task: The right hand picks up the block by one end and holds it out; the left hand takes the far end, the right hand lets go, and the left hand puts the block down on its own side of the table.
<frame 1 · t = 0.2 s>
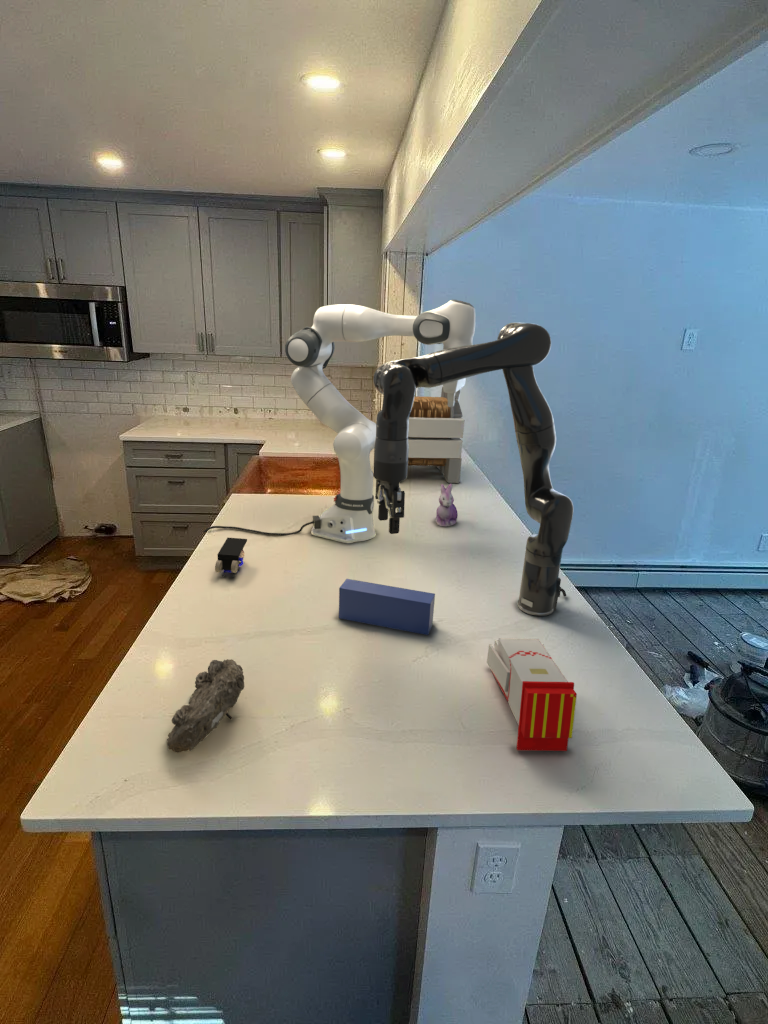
left hand: (453, 404, 174), 48 cm above the counter, tool pointing down, fingers open, 8 cm apart
right hand: (388, 526, 130), 28 cm above the counter, tool pointing down, fingers open, 8 cm apart
figurine: (446, 523, 212), on the counter
figurine character: (232, 569, 168), on the counter
transformer: (419, 473, 275), on the counter
toy: (522, 702, 116), on the counter
fossil: (212, 717, 108), on the counter
block: (385, 621, 144), on the counter
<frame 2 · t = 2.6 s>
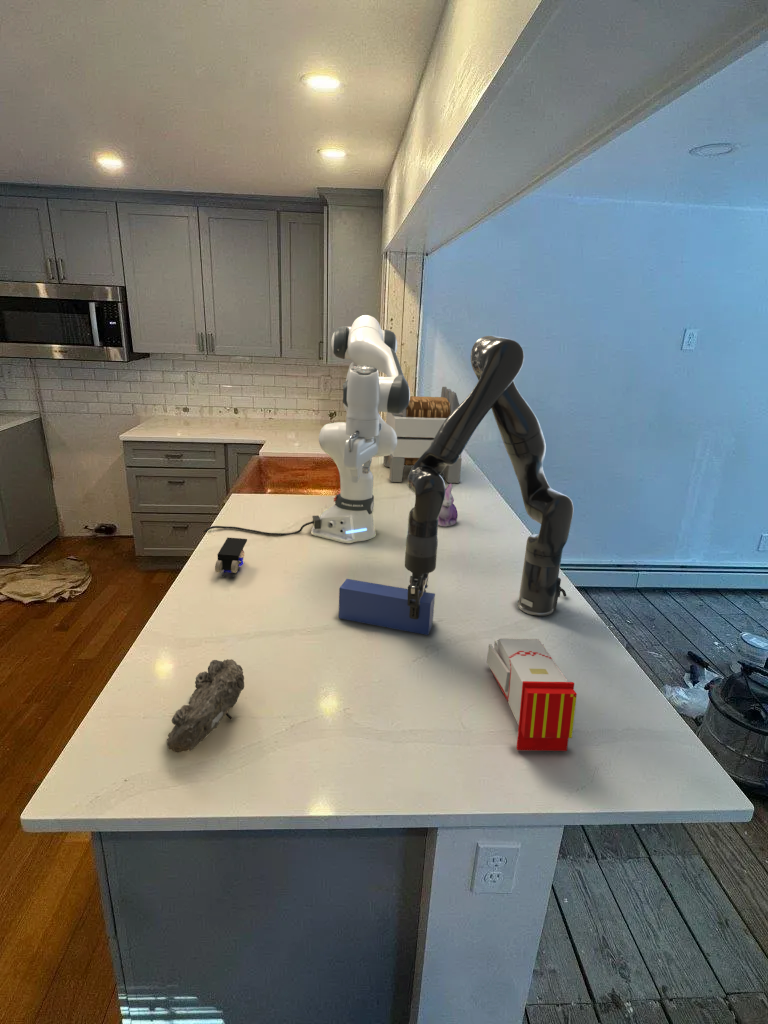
left hand: (360, 477, 157), 30 cm above the counter, tool pointing down, fingers open, 8 cm apart
right hand: (416, 612, 141), 4 cm above the counter, tool pointing down, fingers closed on block, 5 cm apart
block: (385, 621, 144), on the counter, touching right hand
everything else where it was.
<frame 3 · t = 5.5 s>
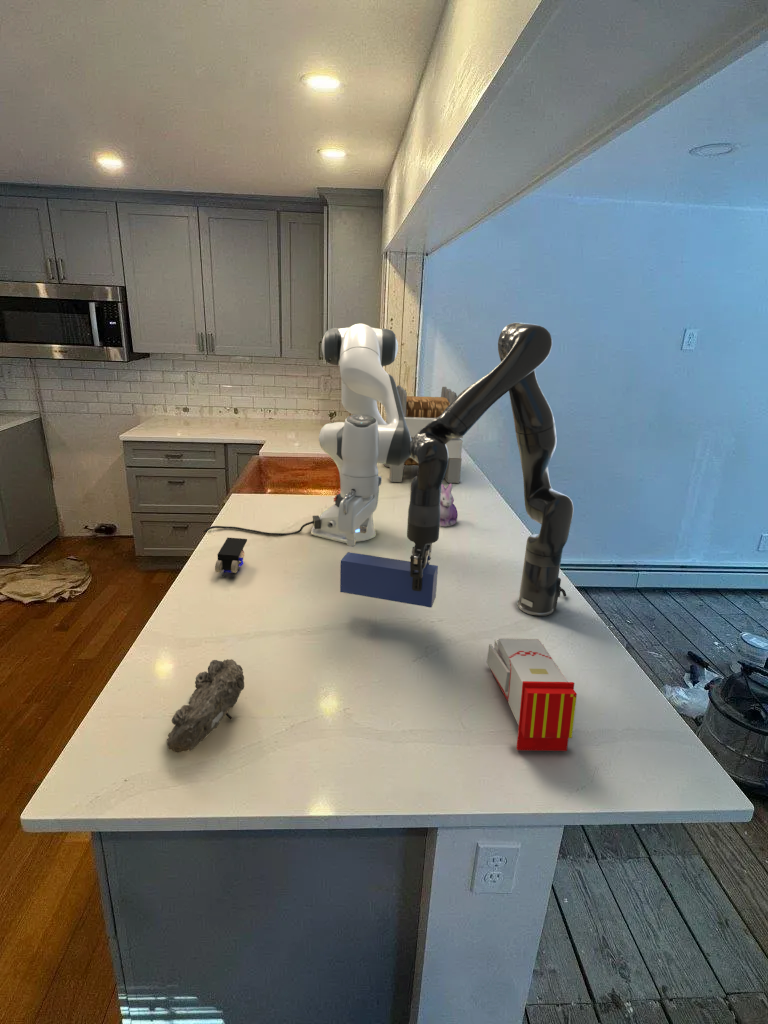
left hand: (357, 538, 139), 21 cm above the counter, tool pointing down, fingers open, 8 cm apart
right hand: (419, 584, 138), 12 cm above the counter, tool pointing down, fingers closed on block, 5 cm apart
block: (387, 594, 141), point 8 cm above the counter, touching right hand
everything else where it was.
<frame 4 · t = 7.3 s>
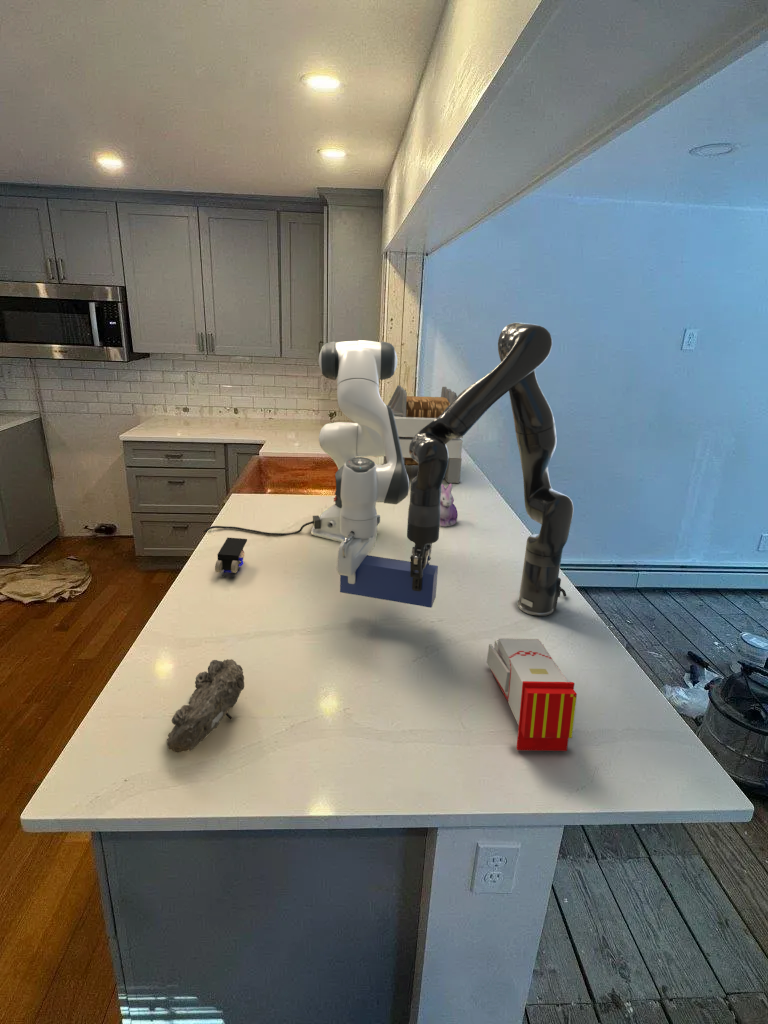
left hand: (356, 576, 142), 11 cm above the counter, tool pointing down, fingers closed on block, 5 cm apart
right hand: (419, 584, 138), 12 cm above the counter, tool pointing down, fingers closed on block, 5 cm apart
block: (387, 594, 141), point 8 cm above the counter, touching left hand, right hand
everything else where it was.
when the right hand's fingers open (12 cm above the counter, at t = 8.5 s): block moves 1 cm, held by the left hand.
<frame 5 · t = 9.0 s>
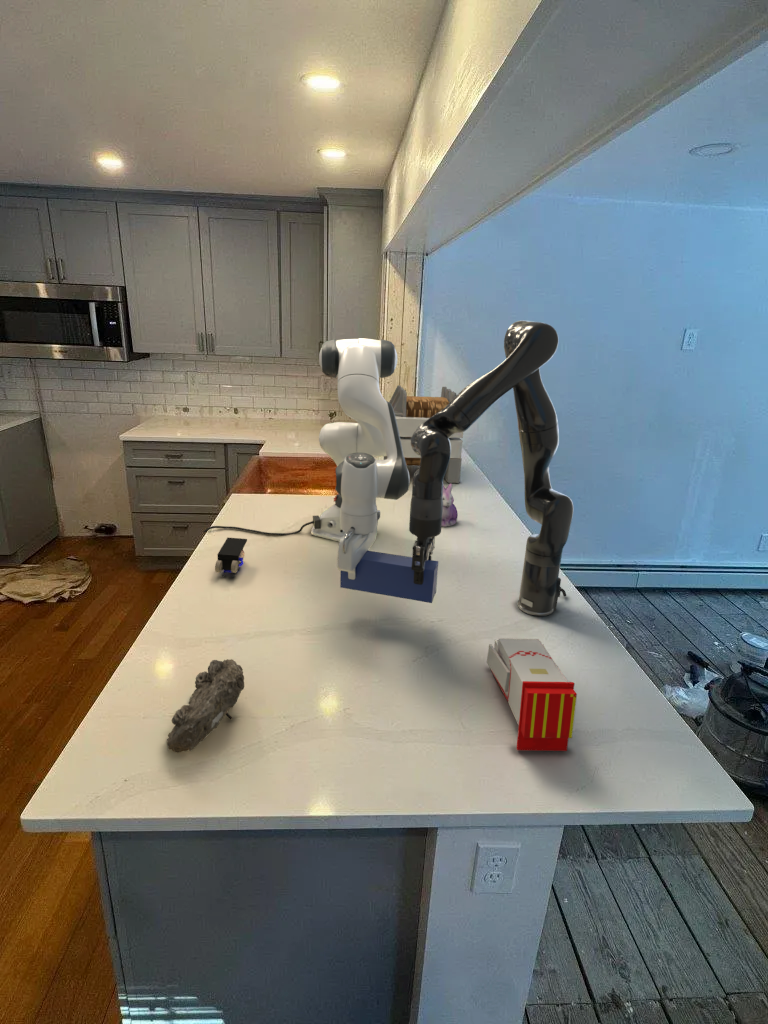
left hand: (356, 572, 142), 12 cm above the counter, tool pointing down, fingers closed on block, 5 cm apart
right hand: (422, 576, 137), 14 cm above the counter, tool pointing down, fingers open, 8 cm apart
block: (388, 590, 141), point 9 cm above the counter, touching left hand
everything else where it was.
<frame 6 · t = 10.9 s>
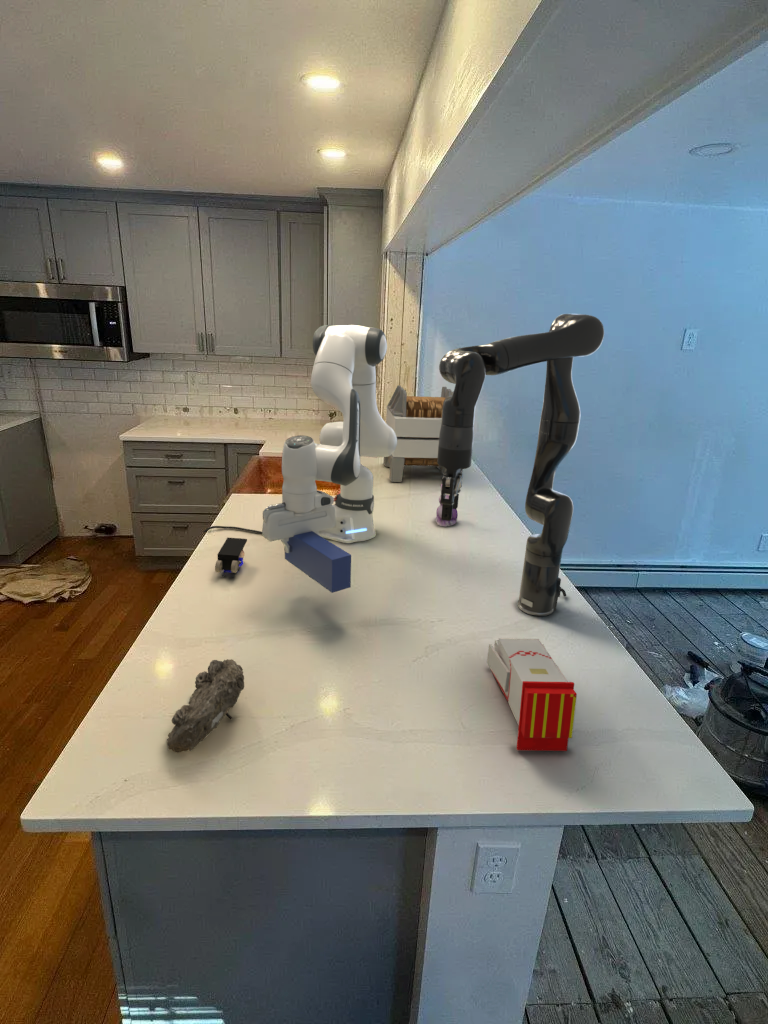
left hand: (300, 549, 151), 13 cm above the counter, tool pointing down, fingers closed on block, 5 cm apart
right hand: (449, 513, 130), 31 cm above the counter, tool pointing down, fingers open, 8 cm apart
block: (316, 572, 146), point 10 cm above the counter, touching left hand
everything else where it was.
when the left hand's fingers open (4 cm above the counter, at t = 12.2 s): block stays where it is, on the counter.
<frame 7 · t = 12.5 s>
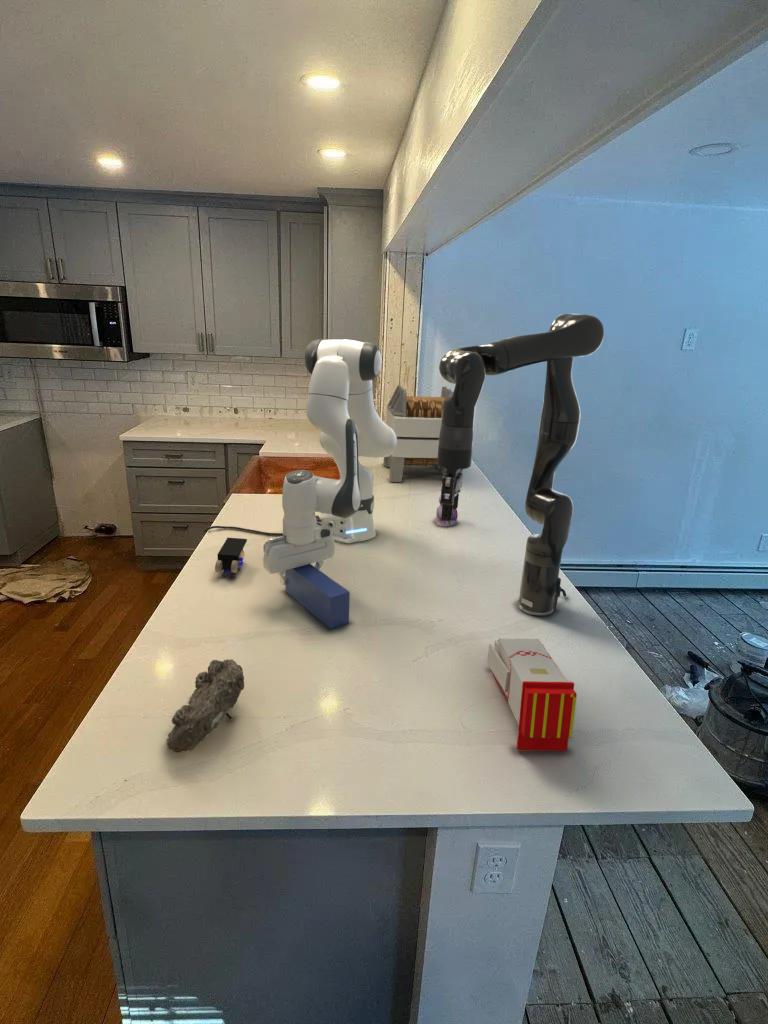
left hand: (300, 579, 154), 5 cm above the counter, tool pointing down, fingers open, 8 cm apart
right hand: (449, 513, 130), 31 cm above the counter, tool pointing down, fingers open, 8 cm apart
block: (315, 606, 149), on the counter
everything else where it was.
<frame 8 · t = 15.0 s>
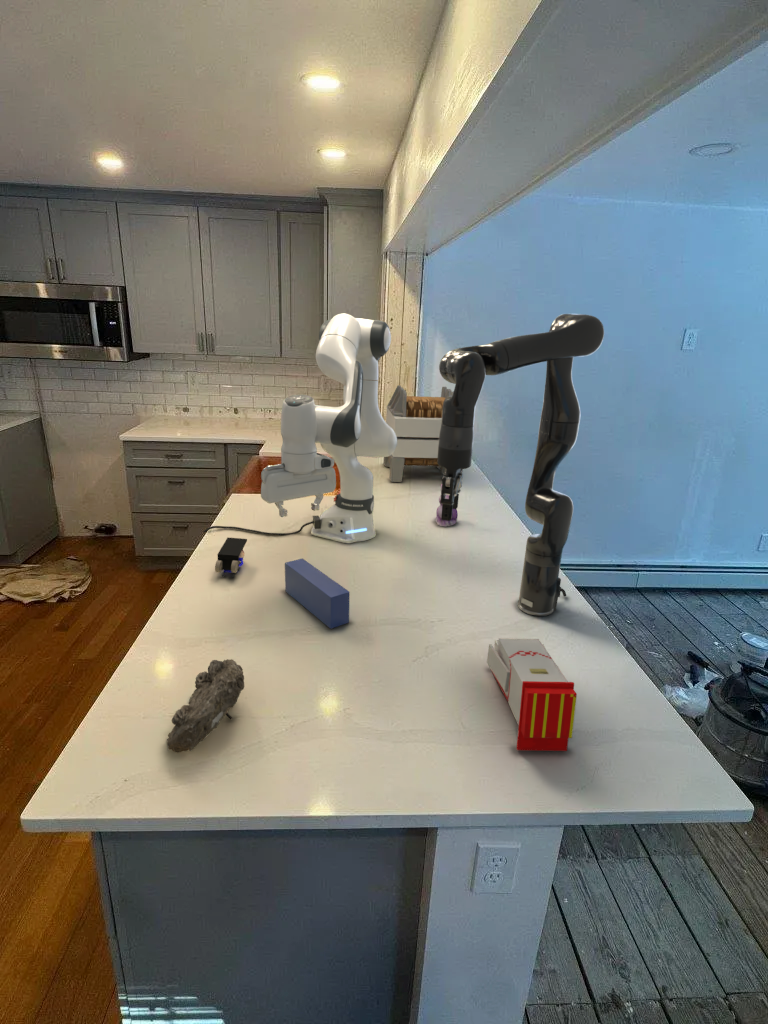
left hand: (299, 513, 147), 24 cm above the counter, tool pointing down, fingers open, 8 cm apart
right hand: (449, 513, 130), 31 cm above the counter, tool pointing down, fingers open, 8 cm apart
nothing on the counter moved.
at the end: block inside the target area (7.9 cm from its centre), on the counter; the left hand is holding nothing; the right hand is holding nothing; block at rest at the end (0.0 cm/s) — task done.
